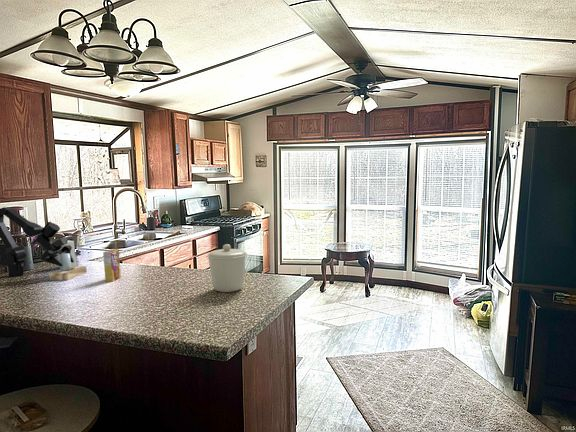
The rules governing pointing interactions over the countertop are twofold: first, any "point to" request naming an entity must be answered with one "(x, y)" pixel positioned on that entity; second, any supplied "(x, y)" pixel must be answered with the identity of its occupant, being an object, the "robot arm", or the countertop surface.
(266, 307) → the countertop surface
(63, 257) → the slate jar
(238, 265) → the canister
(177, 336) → the countertop surface
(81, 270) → the oak stand
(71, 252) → the skincare box
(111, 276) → the candy box
